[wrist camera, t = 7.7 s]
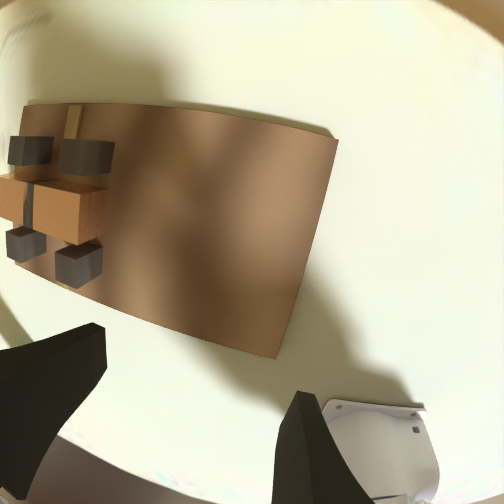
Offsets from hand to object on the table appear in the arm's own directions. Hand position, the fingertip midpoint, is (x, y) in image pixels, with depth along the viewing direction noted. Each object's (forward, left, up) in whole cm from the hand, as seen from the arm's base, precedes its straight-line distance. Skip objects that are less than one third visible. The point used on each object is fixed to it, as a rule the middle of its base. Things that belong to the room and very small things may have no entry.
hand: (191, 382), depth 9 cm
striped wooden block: (+14, -3, -9) cm, 17 cm away
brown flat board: (+9, -3, -9) cm, 13 cm away
